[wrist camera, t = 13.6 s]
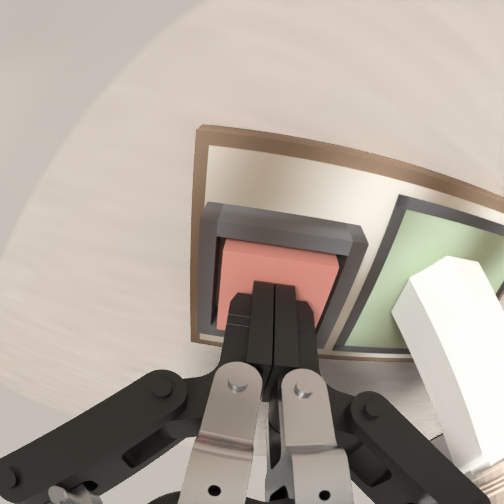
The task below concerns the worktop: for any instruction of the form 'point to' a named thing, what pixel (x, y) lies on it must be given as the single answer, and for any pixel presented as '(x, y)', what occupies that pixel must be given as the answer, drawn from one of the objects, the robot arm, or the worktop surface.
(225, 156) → the metal control panel
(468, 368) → the pepper shaker
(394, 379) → the worktop surface
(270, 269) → the button
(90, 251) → the worktop surface
